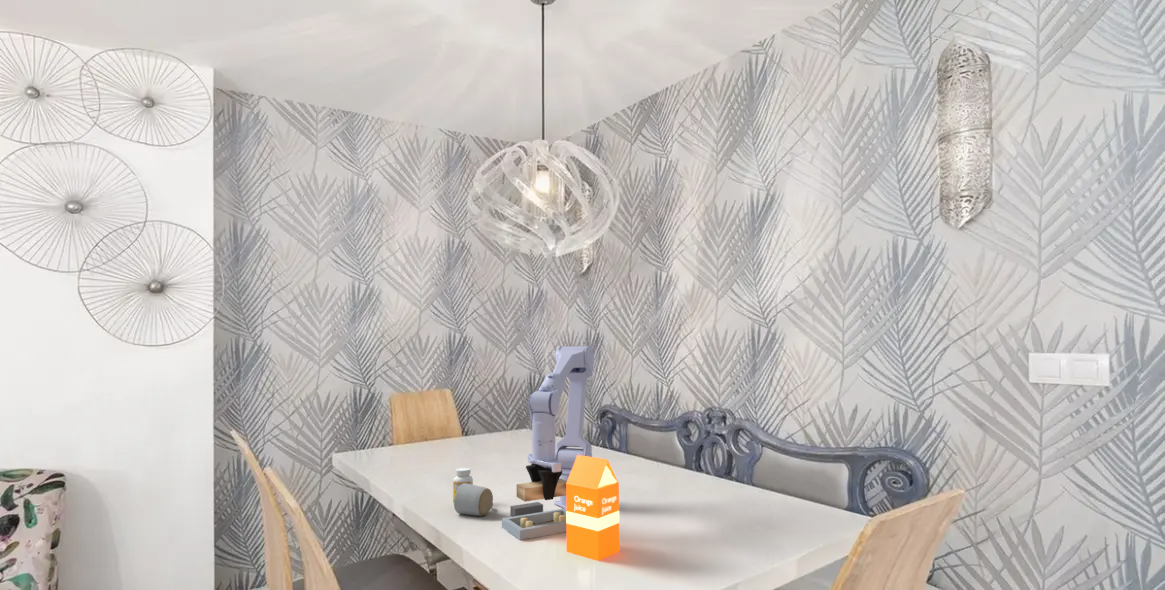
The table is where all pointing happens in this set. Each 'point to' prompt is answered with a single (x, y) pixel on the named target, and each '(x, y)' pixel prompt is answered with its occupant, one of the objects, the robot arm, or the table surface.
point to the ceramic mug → (473, 500)
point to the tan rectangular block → (538, 490)
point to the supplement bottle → (461, 479)
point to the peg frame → (527, 522)
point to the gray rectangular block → (526, 509)
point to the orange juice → (592, 509)
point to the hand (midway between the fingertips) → (543, 496)
